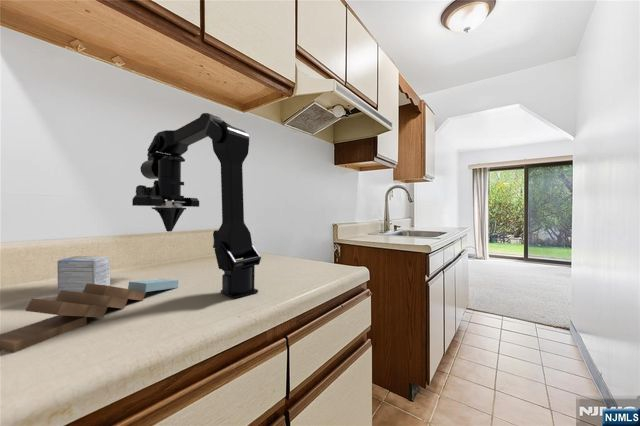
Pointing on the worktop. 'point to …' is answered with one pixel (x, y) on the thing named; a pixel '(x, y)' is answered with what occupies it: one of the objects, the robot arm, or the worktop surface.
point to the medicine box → (82, 272)
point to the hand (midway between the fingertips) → (169, 231)
